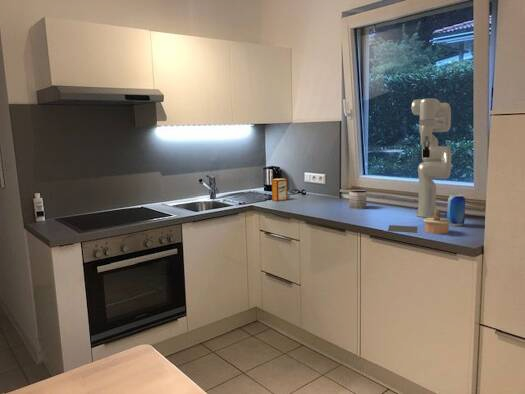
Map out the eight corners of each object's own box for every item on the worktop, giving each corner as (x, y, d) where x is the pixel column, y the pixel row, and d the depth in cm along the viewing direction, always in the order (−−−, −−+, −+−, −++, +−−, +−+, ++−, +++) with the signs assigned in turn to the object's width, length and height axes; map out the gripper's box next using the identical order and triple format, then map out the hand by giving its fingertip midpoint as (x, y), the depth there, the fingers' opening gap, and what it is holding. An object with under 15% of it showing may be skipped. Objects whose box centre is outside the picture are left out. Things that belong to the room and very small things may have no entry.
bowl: (424, 228, 221) (425, 218, 221) (447, 230, 218) (448, 220, 217) (425, 233, 211) (425, 223, 211) (449, 235, 208) (449, 224, 207)
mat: (389, 225, 230) (389, 225, 230) (417, 227, 225) (417, 226, 225) (387, 231, 217) (387, 231, 217) (417, 233, 212) (417, 232, 212)
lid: (423, 218, 222) (423, 207, 221) (449, 219, 218) (450, 208, 217) (423, 223, 210) (424, 211, 209) (451, 224, 206) (452, 213, 205)
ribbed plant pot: (347, 208, 280) (348, 190, 279) (350, 205, 291) (350, 188, 289) (365, 209, 277) (366, 191, 275) (367, 206, 287) (367, 188, 286)
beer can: (459, 223, 233) (460, 193, 231) (467, 226, 225) (468, 196, 222) (444, 223, 233) (445, 194, 231) (451, 226, 225) (452, 196, 222)
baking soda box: (282, 199, 325) (281, 177, 322) (287, 200, 320) (287, 178, 317) (272, 200, 319) (271, 179, 317) (277, 201, 314) (277, 179, 312)
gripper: (419, 123, 230) (418, 155, 232) (419, 123, 214) (418, 158, 216) (434, 123, 227) (433, 155, 230) (435, 123, 211) (434, 158, 214)
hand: (425, 156), depth 223 cm, fingers open, 9 cm apart
